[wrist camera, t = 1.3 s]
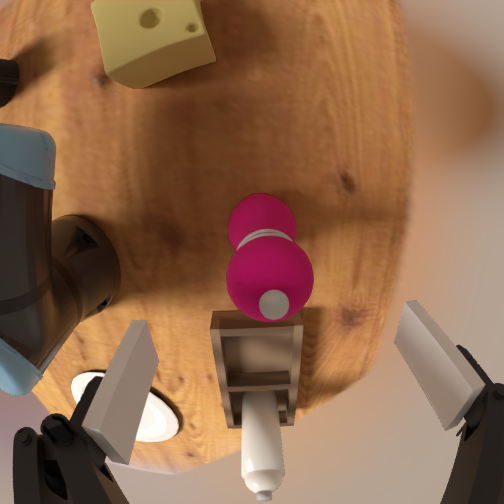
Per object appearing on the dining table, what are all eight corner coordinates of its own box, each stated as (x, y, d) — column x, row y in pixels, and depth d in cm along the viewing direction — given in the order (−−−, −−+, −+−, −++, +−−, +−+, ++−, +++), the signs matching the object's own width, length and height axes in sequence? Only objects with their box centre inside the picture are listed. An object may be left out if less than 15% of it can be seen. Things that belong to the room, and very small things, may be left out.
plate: (56, 359, 44) (53, 364, 43) (164, 373, 45) (162, 380, 43) (99, 428, 54) (97, 432, 52) (190, 442, 54) (189, 447, 52)
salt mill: (243, 406, 46) (242, 504, 27) (240, 385, 43) (239, 494, 25) (276, 404, 46) (285, 502, 27) (276, 384, 43) (288, 491, 25)
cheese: (200, -1, 23) (185, -41, 14) (221, 66, 27) (210, 37, 18) (123, 28, 24) (87, 1, 15) (138, 95, 28) (100, 81, 19)
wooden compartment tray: (291, 408, 48) (293, 425, 44) (228, 411, 48) (227, 428, 44) (298, 307, 39) (303, 325, 35) (212, 311, 39) (209, 329, 35)
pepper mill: (301, 224, 35) (356, 320, 16) (253, 257, 36) (259, 374, 18) (267, 177, 32) (294, 225, 14) (218, 212, 34) (184, 300, 15)
